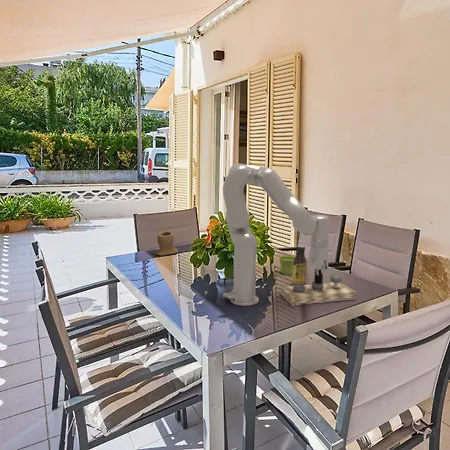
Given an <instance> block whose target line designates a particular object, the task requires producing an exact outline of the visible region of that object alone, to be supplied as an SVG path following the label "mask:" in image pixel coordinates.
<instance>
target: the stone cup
mask: <svg viewBox="0 0 450 450" xmlns="http://www.w3.org/2000/svg"><path fill="white" fill-rule="evenodd" d="M174 240H175V235H174V233H173V232H172V231H169V230H168V231H167V230H165V231H162V232H158V234H157V244H158V246H159V247H158V248H159V249H158V250H156V251H154V253H155V255H157V256H161V257H162V256H168V255H172V254H177V253H179V250H178V248H177V247H176V246H174V245H173V244H174ZM173 246H174V247H173Z"/></svg>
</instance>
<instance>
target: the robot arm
mask: <svg viewBox="0 0 450 450" xmlns="http://www.w3.org/2000/svg"><path fill="white" fill-rule="evenodd" d="M246 185H250V186H252V185H253V186H260V187H261V189H263V191H264V192H265V193H266V195H267V196H268V197H269V198H270V199H271V201H272V202H273V203H274V205H276V207H277V208H278V209H279V210H280V211H282V212H283V213H284V214H285V215H286V216H287V217H288V218H289V219H290V220H291V221H292V227H293V229H295V230H296V231H297V232H298V233H300V234H302V235H304V236H310V249H309V258H308V264H309V266H310V267H312V269H313V273H314V279H313V280H314V281H313V282H315V283H316V284H320V283H324V282H323V281H324V280H323V279H324V278H323V277H324V274H326V271H327V269H328V268H329V250H328V248H329V235H330V234H329V232H330V218H329V216H328V215H325V214H324V215H323V214H315V215H311V214H310V213H309V212H308V210H307V208H305V206H304V205H303V204H302V203H301V202H300V201H299V199H298V198H297V197H296V196H295V195H294V193H293V192H292V191H291V190H290V188H288V186H287V184H286V183H285V182H284V181H283V179H282V178H281V177H280V176H279V174H278V173H277V172H276V171H275V170H274V169H273V168H271V167H266V166H257V165H252V164H250V165H249V164H245V163H235V164H233V165H232V166H230V168H229V170H228V174H227V175H226V178H225V179H224V182H223V186H222V195H223V200H224V204H225V206H224V207H225V209H226V210H225V220H226V225H227V229H228V231H229V235H230V239H231V242H232V244H233V246H234V249H233V252H234V253H233V289H232V290H231V291H230V292H223V293H222V297H223V299H224V298H226V299H229V301H230V302H231V304H233V305H235V306H244V307H248V306H254V305H257V304H258V303H259V301H260V298H259V297H258V296H257V295H256V273H257V272H256V271H257V270H256V268H257V267H256V266H257V265H256V263H257V261H256V259H257V251H258V250H257V249H258V241H257V238H256V236H255V235H254V233H253V232H252V231H251V226H250V223H249V222H250V214H249V212H248V207H247V205H246V204H247V203H246V200H245V196H244V195H245V194H244V188H245V186H246Z"/></svg>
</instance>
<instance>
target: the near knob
mask: <svg viewBox="0 0 450 450" xmlns="http://www.w3.org/2000/svg"><path fill="white" fill-rule="evenodd" d="M292 286H293V291H294V292H298V293H301V292H305V286H304V285H300V284H296V285H293V284H292Z"/></svg>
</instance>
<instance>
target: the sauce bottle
mask: <svg viewBox="0 0 450 450" xmlns="http://www.w3.org/2000/svg"><path fill="white" fill-rule="evenodd" d="M305 250H306V246H305V245H296V256H294V257H295V259H294V264H293V274H292V281H291V282H292V286H293V285H296V284H300V285H306V284H305V283H306V274H307V258H306V256H305V252H306V251H305Z"/></svg>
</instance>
